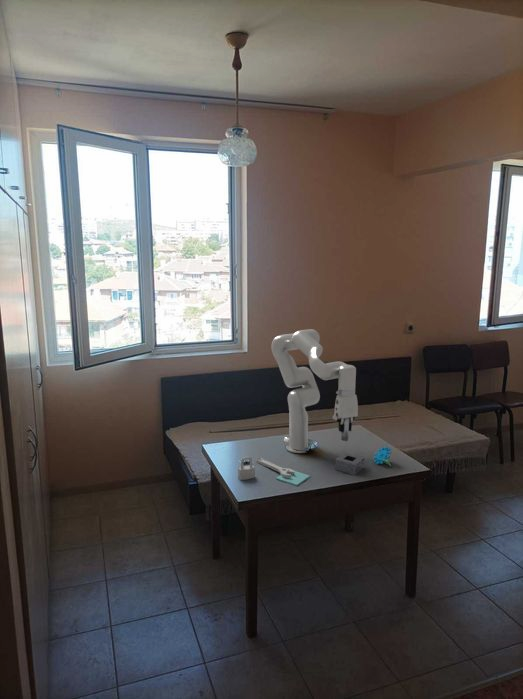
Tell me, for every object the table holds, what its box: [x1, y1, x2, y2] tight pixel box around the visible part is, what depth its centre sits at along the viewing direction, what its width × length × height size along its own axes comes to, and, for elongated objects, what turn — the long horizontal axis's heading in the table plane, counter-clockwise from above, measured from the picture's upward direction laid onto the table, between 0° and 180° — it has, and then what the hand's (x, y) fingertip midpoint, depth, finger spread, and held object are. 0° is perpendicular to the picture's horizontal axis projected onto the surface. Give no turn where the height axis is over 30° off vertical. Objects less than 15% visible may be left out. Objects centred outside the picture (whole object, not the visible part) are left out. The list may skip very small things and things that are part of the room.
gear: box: [373, 446, 392, 467], centre depth 237 cm, size 11×6×10 cm
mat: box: [275, 470, 311, 487], centre depth 221 cm, size 11×11×1 cm
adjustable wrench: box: [255, 457, 295, 478], centre depth 230 cm, size 25×6×2 cm, turn 34°
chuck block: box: [334, 452, 366, 476], centre depth 230 cm, size 10×10×5 cm
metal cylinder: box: [340, 418, 350, 442], centre depth 226 cm, size 3×3×12 cm
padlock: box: [237, 456, 256, 481], centre depth 220 cm, size 7×4×10 cm, turn 113°
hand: (344, 430), depth 226 cm, fingers closed on metal cylinder, 3 cm apart
